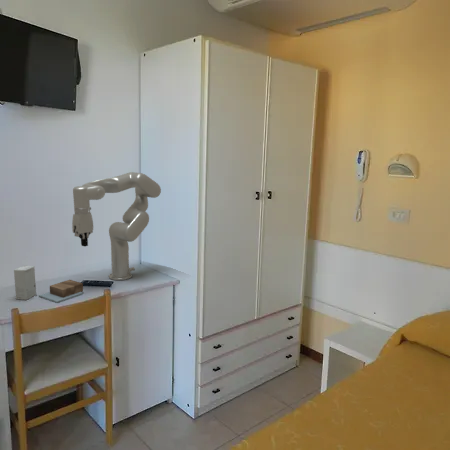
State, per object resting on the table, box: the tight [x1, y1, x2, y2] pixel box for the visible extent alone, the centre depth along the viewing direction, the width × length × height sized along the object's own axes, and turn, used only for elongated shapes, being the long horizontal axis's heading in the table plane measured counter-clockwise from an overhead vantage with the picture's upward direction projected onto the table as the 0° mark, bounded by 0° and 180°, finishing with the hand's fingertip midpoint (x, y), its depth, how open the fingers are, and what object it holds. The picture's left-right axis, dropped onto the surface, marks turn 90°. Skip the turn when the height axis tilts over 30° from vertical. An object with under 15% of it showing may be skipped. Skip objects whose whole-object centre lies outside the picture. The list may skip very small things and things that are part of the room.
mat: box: [38, 291, 84, 304], centre depth 210 cm, size 15×14×1 cm
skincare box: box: [13, 265, 37, 301], centre depth 206 cm, size 8×6×15 cm
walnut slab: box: [49, 279, 84, 298], centre depth 212 cm, size 4×10×12 cm
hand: (84, 245), depth 219 cm, fingers closed
